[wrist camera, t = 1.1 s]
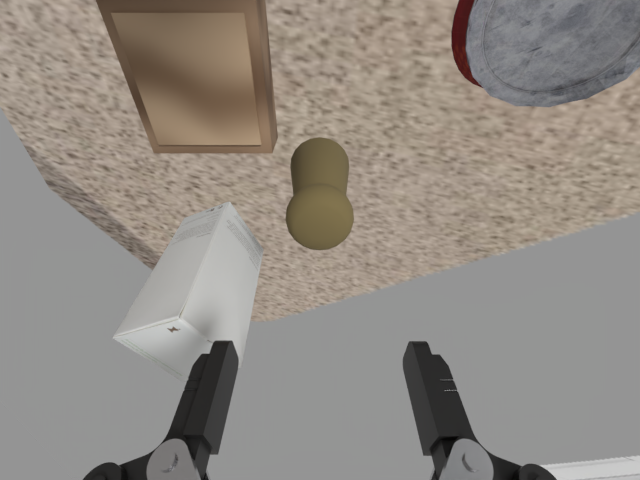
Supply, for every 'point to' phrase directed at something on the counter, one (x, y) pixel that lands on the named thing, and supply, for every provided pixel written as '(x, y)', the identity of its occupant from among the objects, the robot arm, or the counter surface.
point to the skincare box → (196, 293)
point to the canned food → (546, 47)
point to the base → (197, 72)
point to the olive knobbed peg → (319, 195)
